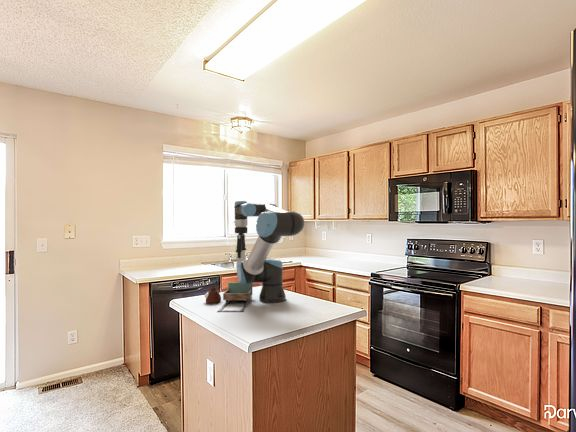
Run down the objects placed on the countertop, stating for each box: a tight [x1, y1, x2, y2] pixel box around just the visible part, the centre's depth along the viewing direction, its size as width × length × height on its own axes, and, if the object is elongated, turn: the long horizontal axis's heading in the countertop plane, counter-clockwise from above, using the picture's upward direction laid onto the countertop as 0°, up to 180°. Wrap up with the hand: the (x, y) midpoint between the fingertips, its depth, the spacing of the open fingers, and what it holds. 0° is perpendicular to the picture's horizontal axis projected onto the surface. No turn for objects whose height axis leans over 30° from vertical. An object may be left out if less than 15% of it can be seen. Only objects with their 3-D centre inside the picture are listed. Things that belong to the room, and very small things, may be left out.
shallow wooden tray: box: [222, 281, 253, 303], centre depth 186 cm, size 14×14×9 cm
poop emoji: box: [204, 285, 222, 305], centre depth 185 cm, size 10×8×9 cm
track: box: [217, 296, 253, 313], centre depth 180 cm, size 13×32×1 cm, turn 178°
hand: (241, 262), depth 197 cm, fingers open, 13 cm apart
